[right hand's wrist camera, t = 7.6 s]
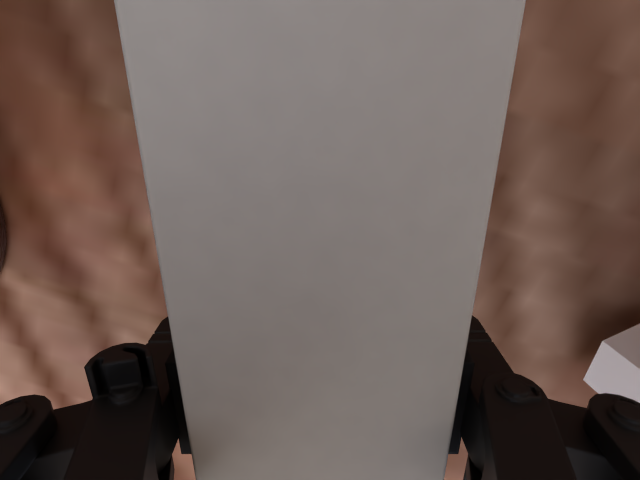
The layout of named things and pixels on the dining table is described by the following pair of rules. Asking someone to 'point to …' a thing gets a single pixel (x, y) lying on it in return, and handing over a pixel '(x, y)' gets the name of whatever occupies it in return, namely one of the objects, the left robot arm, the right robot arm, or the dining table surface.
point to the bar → (319, 220)
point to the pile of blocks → (617, 365)
